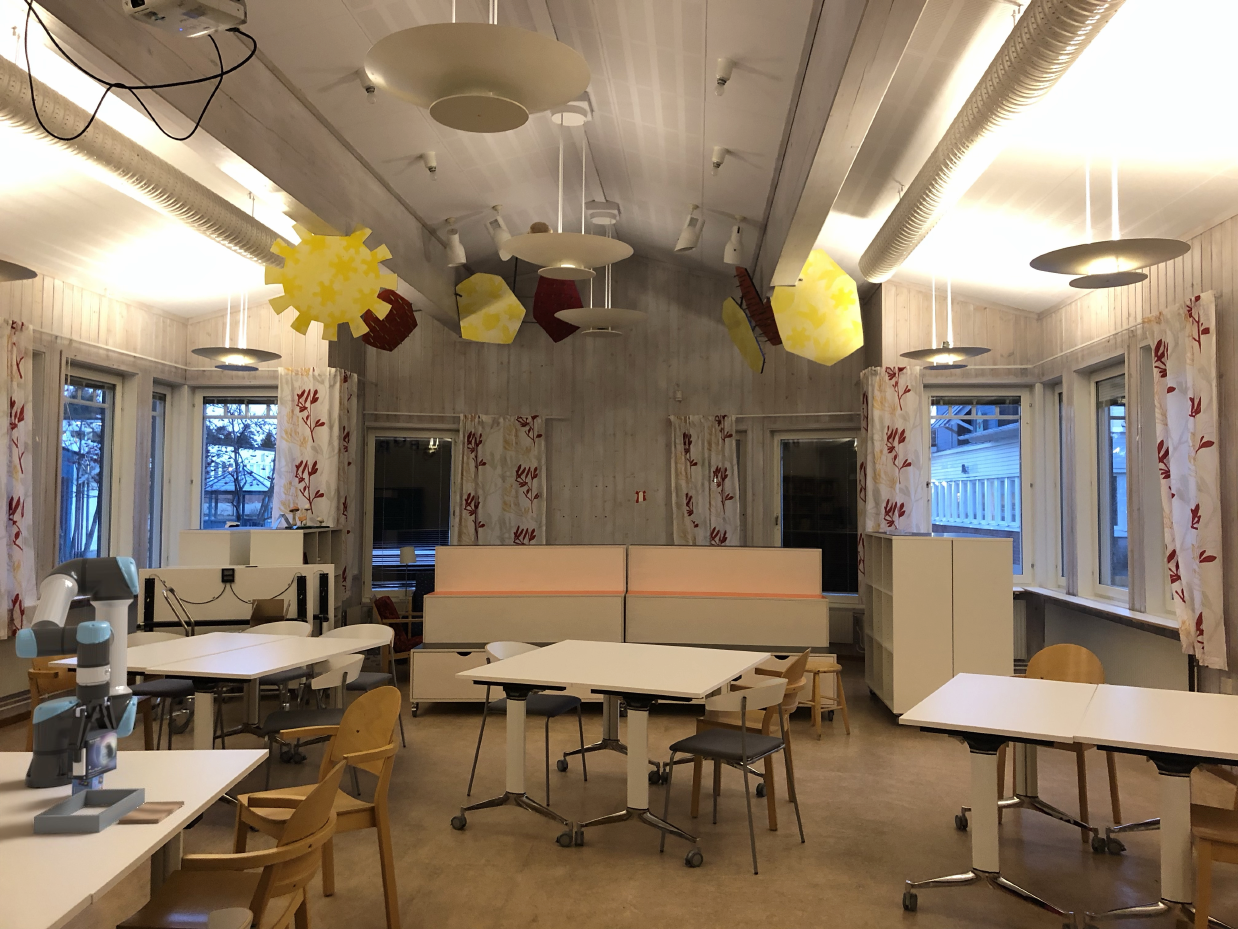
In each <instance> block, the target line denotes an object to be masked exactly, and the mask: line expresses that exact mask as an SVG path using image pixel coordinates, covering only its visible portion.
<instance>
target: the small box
mask: <svg viewBox="0 0 1238 929" xmlns="http://www.w3.org/2000/svg"><path fill="white" fill-rule="evenodd" d="M68 739H69V738H68ZM83 748H86V771H85V775H73V750H69V749H68V755H67V779H73V780H89V779H92V778H94V777H97V776H99V775H102V774H107V773H109V772H112V771H115V770H117V765H118V764H117V760H118V758H117V757H118V756H117V755H118V738H117V730H113V729H102V728H97V729H94V730H91V731H89V732H88V735H87V738H86V740H85V744H84V747H83Z"/></svg>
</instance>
